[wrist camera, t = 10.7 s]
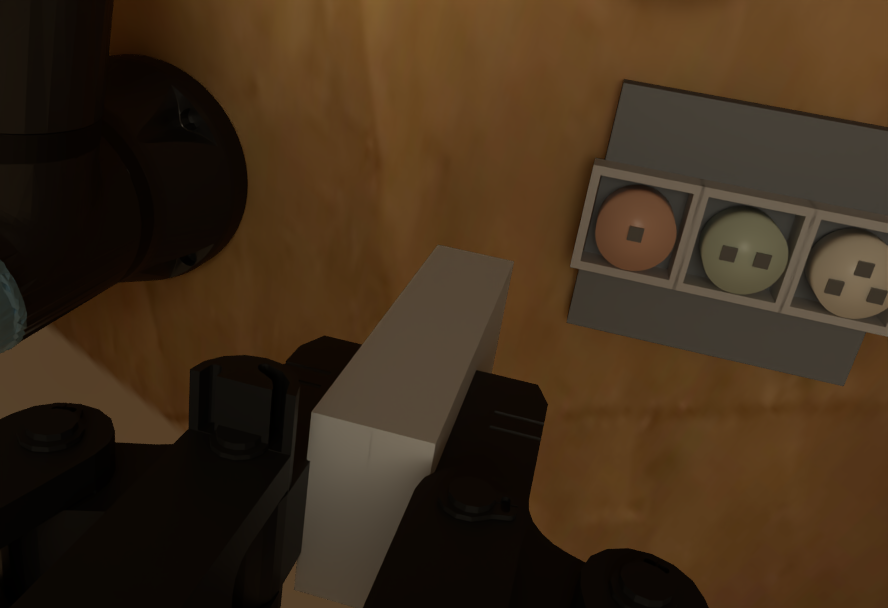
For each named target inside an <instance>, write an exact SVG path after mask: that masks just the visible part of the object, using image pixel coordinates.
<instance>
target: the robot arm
mask: <svg viewBox="0 0 888 608" xmlns="http://www.w3.org/2000/svg"><path fill="white" fill-rule="evenodd" d="M113 3H114V0H0V353H3V352H4V351H6V350H9V349H11V348H13V347H14V346H15V345H17V344H18V343H19V342H21V341H22V340H24V339H26V338H27V337H29V336H30V335H32V334H34V333H35V332H37V331H39V330H40V329H42V328H44V327H45V326H47V325H49V324H50V323H52V322H54V321H55V320H57V319H59V318H60V317H62V316H64V315H65V314H67V313H69V312H70V311H72V310H74V309H75V308H77V307H78V306H80V305H82V304H83V303H85V302H87V301H88V300H90V299H92V298H93V297H95V296H97V295H98V294H100V293H102V292H103V291H105V290H107V289H108V288H110V287H111V286H113V285H115V284H117V283H119V282H135V281H151V280H163V279H168V278H172V277H176V276H179V275H182V274H185V273H187V272H189V271H191V270H193V269H195V268H197V267H198V266H200V265H201V264H203V263H204V262H206V261H208V260H209V259H211V258H212V257H214V256H215V255H216V254H218V253H219V252H220V251H221V250H222V249H223V248H224V247H225V246H226V245H227V243H228V242H229V241H230V239H231V238H232V236H233V235H234V233H235V231H236V230H237V228H238V226H239V223H240V221H241V218H242V215H243V212H244V208H245V202H246V195H247V173H246V165H245V160H244V156H243V152H242V148H241V145H240V142H239V140H238V137H237V135H236V132H235V130H234V128H233V126H232V124H231V122H230V120H229V119H228V117H227V115H226V114H225V112H224V111H223V109H222V108H221V106H220V105H219V104H218V102H217V101H216V100H215V99H214V98H213V96H212V95H211V94H210V93H209V92H208V91H207V90H206V89H205V88H204V87H203V86H202V85H201V84H200V83H198V82H197V81H196V80H195V79H193V78H192V77H191V76H189V75H188V74H187V73H185V72H184V71H182V70H180V69H178V68H177V67H175V66H173V65H171V64H169V63H166V62H164V61H161V60H158V59H155V58H152V57H148V56H142V55H133V54H122V55H113V56H109V46H110V35H111V24H112V13H113ZM513 264H514V261H510V260H505V259H501V258H496V257H492V256H487V255H483V254H478V253H474V252H469V251H464V250H460V249H455V248H451V247H446V246H442V245H437V247H436V248H435V249H434V251H433V252H432V253H431V255H430V256H429V257H428V258H427V260H426V261H425V262H424V264H423V265H422V266H421V268H420V269H419V270H418V272H417V273H416V274H415V276H414V277H413V278H412V280H411V281H410V282H409V284H408V285H407V286H406V288H405V289H404V290H403V292H402V293H401V294H400V296H399V297H398V298H397V300H396V301H395V302H394V303H393V305H392V306H391V307H390V309H389V310H388V311H387V313H386V314H385V315H384V317H383V318H382V319H381V321H380V322H379V323H378V325H377V326H376V327H375V329H374V330H373V331H372V333H371V334H370V335H369V337H368V338H367V339H366V341H365V342H364V343H363V344H362V345H361V344H357V343H353V342H349V341H345V340H341V339H337V338H332V337H328V336H322V337H320V338H317V339H315V340H313V341H310V342H308V343H306V344H303V345H301V346H300V347H299V348H298V349H297V350H296V351H295V352H294V353H293V354H292V355H291V356H290V357H289V358H288V359H287V361H286V364H281V363H278V362H275V361H273V360H270V359H267V358H262V357H255V356H248V355H238V356H223V357H219V358H215V359H211V360H207V361H204V362H202V363H200V364H198V365H197V366H195V367H193V368H191V369H190V394H189V429H188V430H187V431H186V432H185V433H184V434H183V435H182V436H181V437H180V438H179V439H178V440H177V441H176V442H175V443H174V444H161V445H155V444H154V445H153V444H133V443H116V442H115V430H114V427H113V424H112V420H111V418H109V417H108V416H107V415H105V414H104V413H103V412H101V411H100V410H98V409H95V408H92V407H89V406H85V405H82V404H72V403H53V404H47V405H39V406H33V407H30V408H27V409H24V410H21V411H19V412H16V413H13V414H10V415H8V416H6V417H4V418H2V419H0V608H280V606H281V597H282V585H283V583H284V581H285V579H286V578H287V576H288V574H289V572H290V571H291V569H292V567H293V566H294V564H295V562H296V561H297V566H296V576H295V587H294V590H297V591H300V592H304V593H307V594H311V595H314V596H317V597H321V598H324V599H327V600H331V601H334V602H338V603H341V604H344V605H348V606H351V607H355V608H709V607H708V605H707V603H706V600H705V599H704V597H703V596H702V594H701V592H700V591H699V589H698V588H697V586H696V585H695V583H694V582H693V581H692V580H691V579H690V578H689V577H687V576H686V575H685V574H684V573H683V572H682V571H680V570H679V569H678V568H677V567H676V566H674V565H673V564H671V563H669V562H667V561H665V560H663V559H661V558H659V557H657V556H655V555H653V554H650V553H645V552H641V551H637V550H633V549H629V548H625V549H606V550H604V551H601V552H599V553H597V554H594V555H592V556H590V558H589V559H588V560H587V562H586V563H585V562H583V561H581V560H580V559H578V558H576V557H574V556H572V555H570V554H568V553H567V552H565V551H563V550H562V549H560V548H559V547H557V546H556V545H554V544H553V543H552V542H551V541H549V540H548V539H547V538H546V537H545V536H544V535H543V534H542V533H541V532H540V531H539V529H538V528H537V526H536V525H535V524H534V522H533V520H532V517H531V515H530V512H529V496H530V491H531V486H532V481H533V476H534V471H535V466H536V461H537V456H538V451H539V446H540V441H541V436H542V431H543V426H544V421H545V416H546V411H547V406H548V403H547V402H546V400H545V398H544V396H543V394H542V392H541V390H540V388H539V386H538V385H536V384H532V383H528V382H524V381H520V380H515V379H511V378H507V377H503V376H499V375H495V374H491V373H492V368H493V363H494V358H495V353H496V348H497V344H498V339H499V334H500V329H501V324H502V319H503V314H504V309H505V304H506V299H507V294H508V289H509V284H510V279H511V274H512V269H513Z"/></svg>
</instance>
